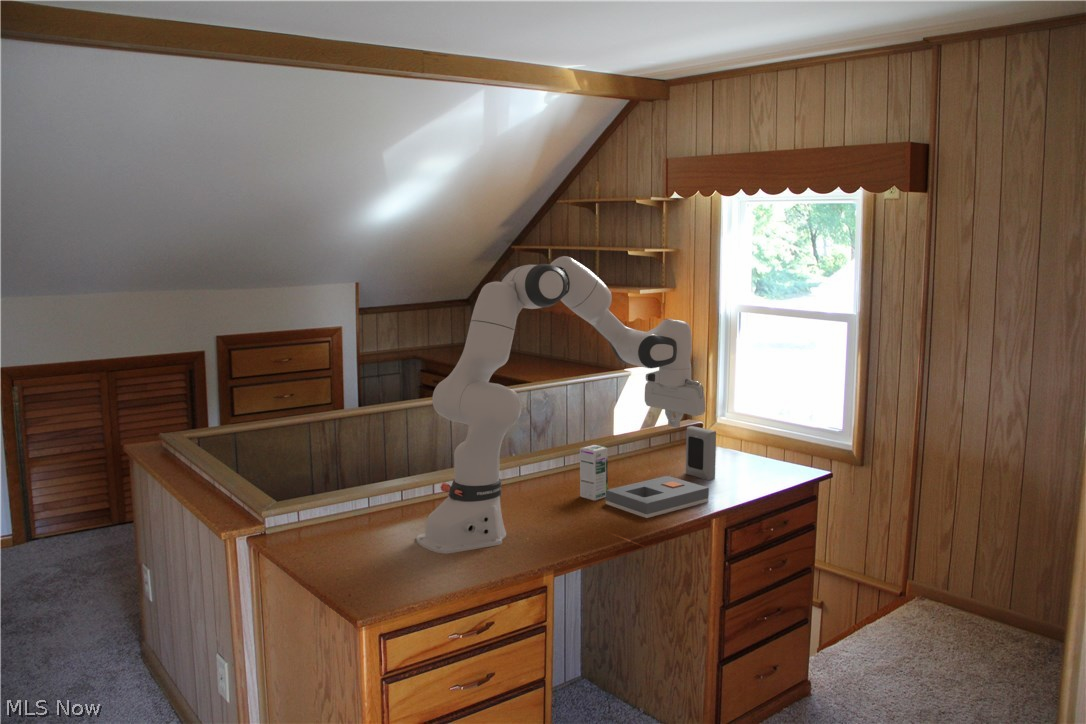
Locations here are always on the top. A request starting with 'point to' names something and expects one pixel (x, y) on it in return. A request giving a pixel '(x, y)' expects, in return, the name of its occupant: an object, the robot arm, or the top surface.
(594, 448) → the syrup box
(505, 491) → the top surface
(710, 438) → the grey upright rectangular block
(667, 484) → the orange block
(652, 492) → the grey two-pocket tray
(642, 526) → the top surface
